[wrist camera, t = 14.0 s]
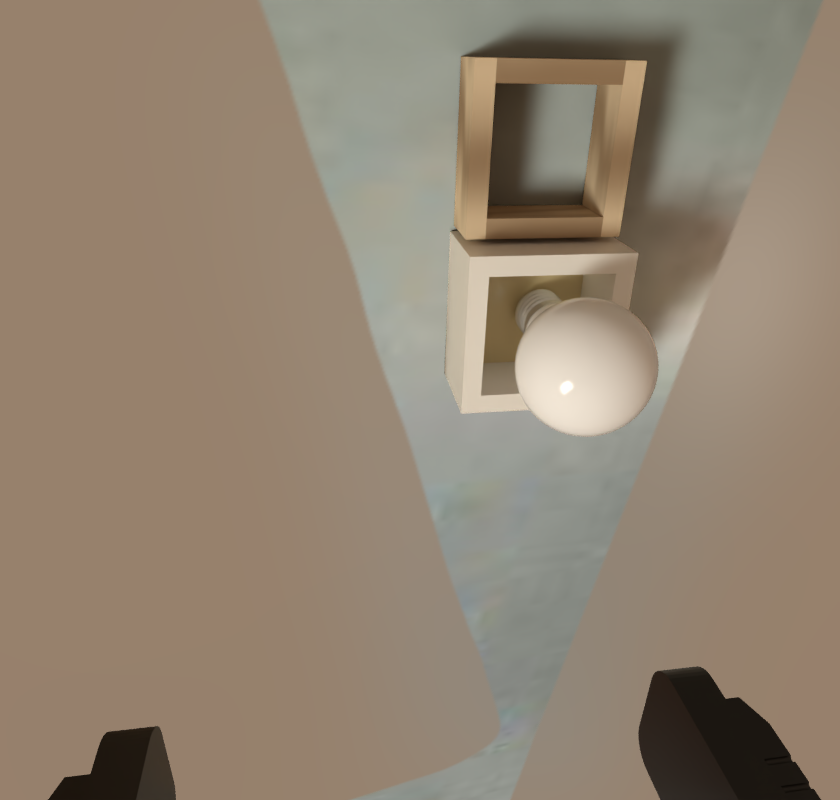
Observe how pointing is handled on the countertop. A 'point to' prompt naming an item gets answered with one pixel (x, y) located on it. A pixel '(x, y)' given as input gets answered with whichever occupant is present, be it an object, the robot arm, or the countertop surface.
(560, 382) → the lightbulb
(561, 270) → the cream open cubby box
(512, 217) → the wooden frame
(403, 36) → the countertop surface
